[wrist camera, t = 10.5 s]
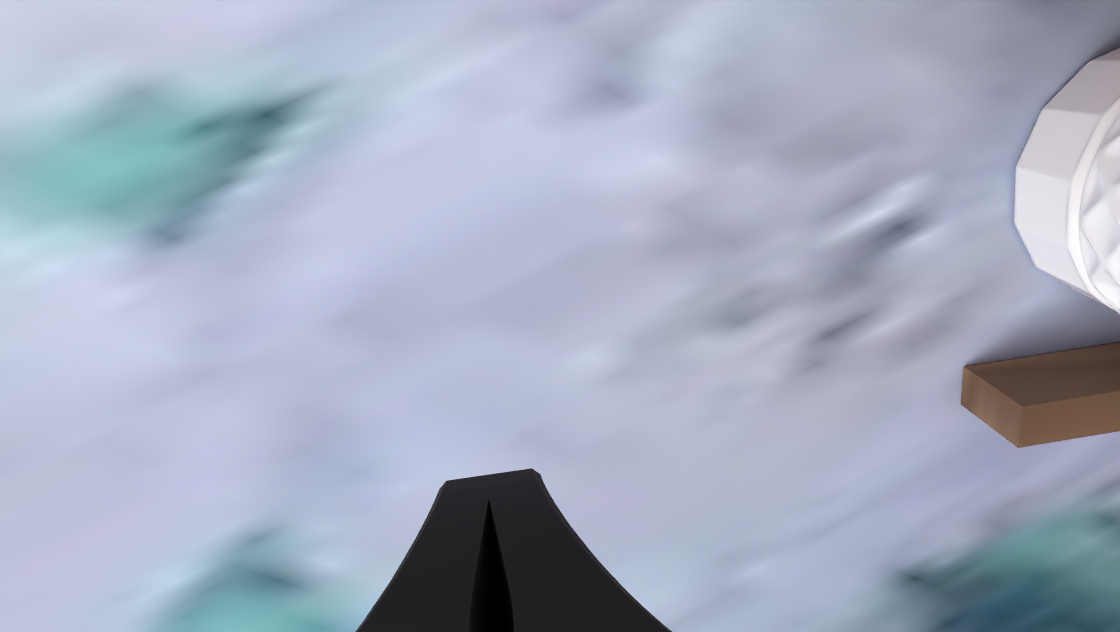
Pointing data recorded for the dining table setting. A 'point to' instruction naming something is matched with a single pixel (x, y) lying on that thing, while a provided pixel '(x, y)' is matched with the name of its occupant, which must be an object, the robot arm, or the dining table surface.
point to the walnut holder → (1047, 395)
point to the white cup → (1076, 184)
